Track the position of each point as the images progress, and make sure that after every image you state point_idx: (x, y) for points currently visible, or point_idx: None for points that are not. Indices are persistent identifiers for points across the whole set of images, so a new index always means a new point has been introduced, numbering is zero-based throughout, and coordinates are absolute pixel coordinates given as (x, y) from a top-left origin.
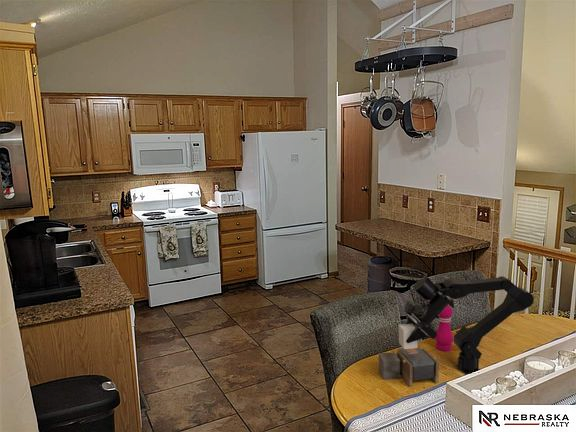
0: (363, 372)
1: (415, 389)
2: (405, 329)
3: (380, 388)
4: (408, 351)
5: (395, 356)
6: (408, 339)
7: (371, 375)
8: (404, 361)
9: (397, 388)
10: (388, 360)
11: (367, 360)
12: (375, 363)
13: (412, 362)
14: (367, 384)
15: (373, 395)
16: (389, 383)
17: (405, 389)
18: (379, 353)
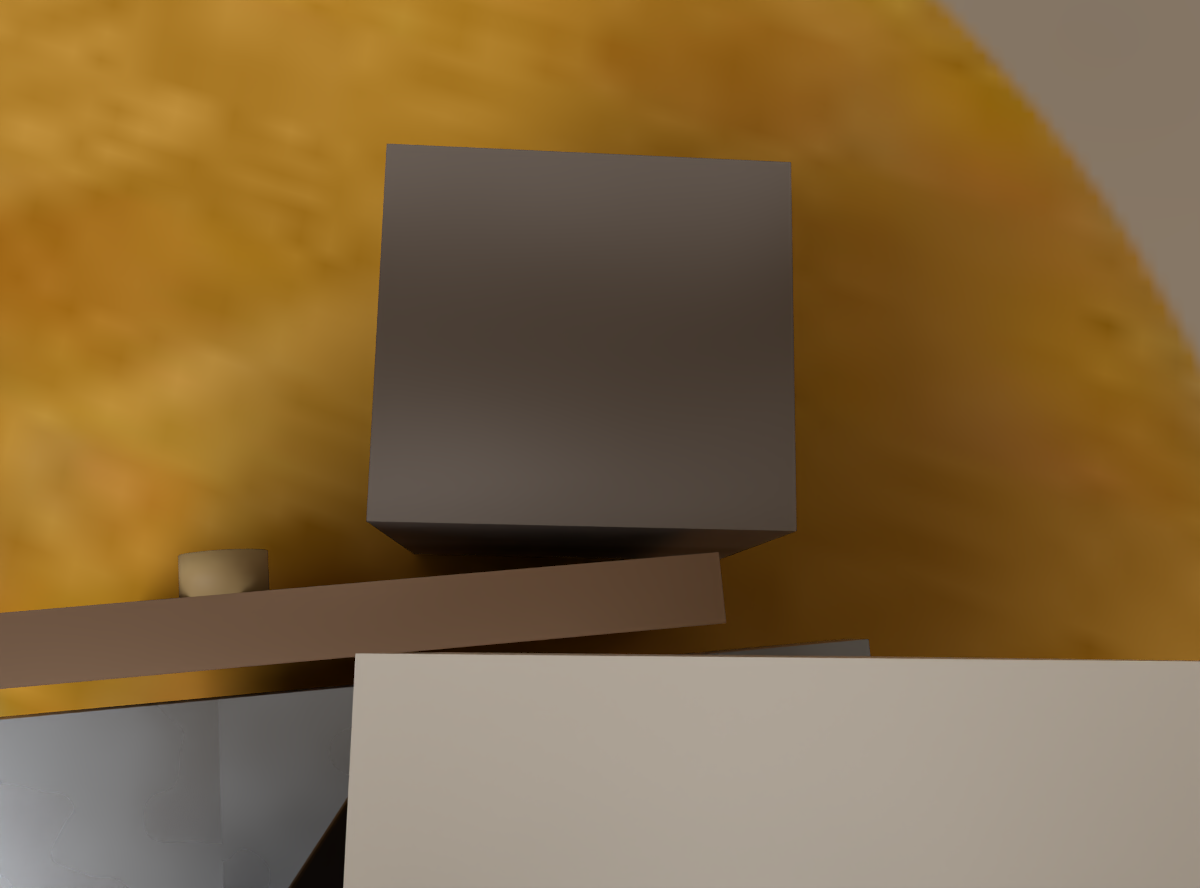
0: (692, 54)
1: (31, 695)
2: (539, 858)
3: (182, 161)
4: None
5: (579, 480)
6: (315, 852)
7: (585, 144)
8: (181, 569)
9: (126, 414)
10: (415, 261)
11: (1068, 220)
12: (958, 316)
13: (41, 744)
14: (333, 13)
15: (15, 8)
16: (299, 339)
17: (69, 530)
18: (774, 173)
